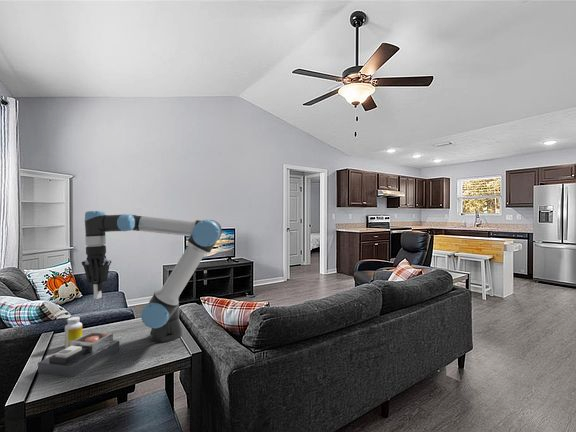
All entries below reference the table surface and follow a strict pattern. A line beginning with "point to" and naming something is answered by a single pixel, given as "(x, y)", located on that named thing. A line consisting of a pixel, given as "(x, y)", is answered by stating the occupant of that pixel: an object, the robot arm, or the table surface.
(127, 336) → the table surface
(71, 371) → the grey stepped block
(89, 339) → the breaker button
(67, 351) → the on button
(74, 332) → the supplement bottle
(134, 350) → the table surface
